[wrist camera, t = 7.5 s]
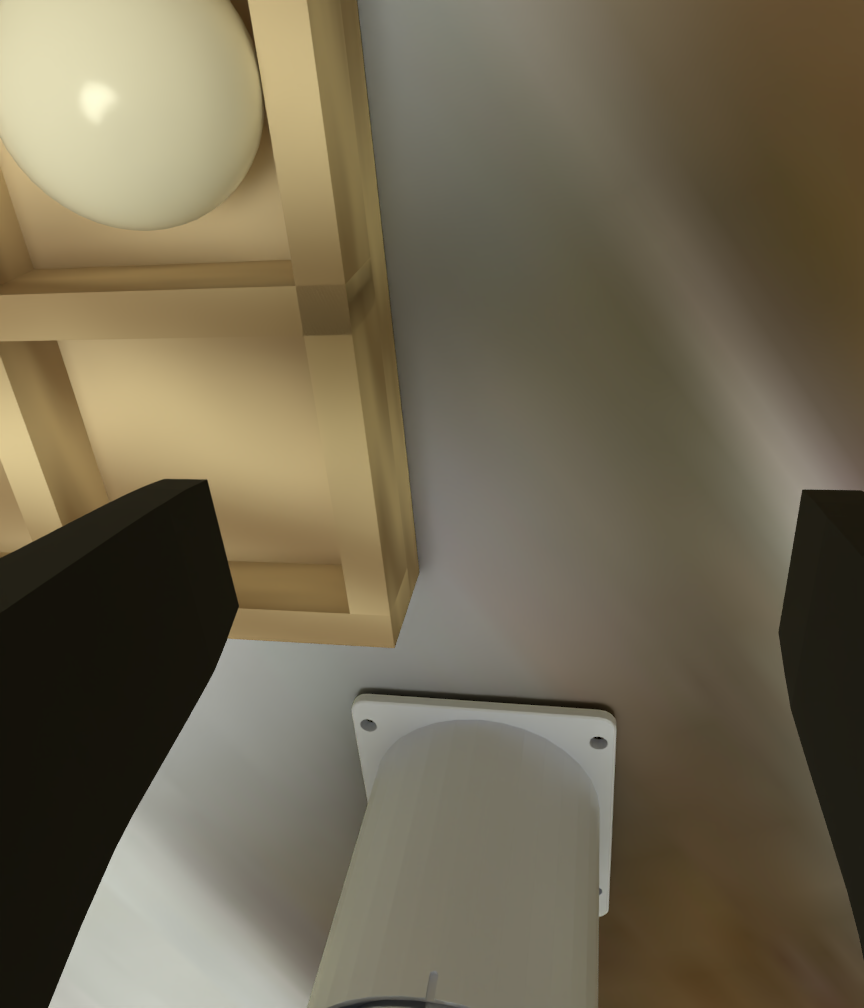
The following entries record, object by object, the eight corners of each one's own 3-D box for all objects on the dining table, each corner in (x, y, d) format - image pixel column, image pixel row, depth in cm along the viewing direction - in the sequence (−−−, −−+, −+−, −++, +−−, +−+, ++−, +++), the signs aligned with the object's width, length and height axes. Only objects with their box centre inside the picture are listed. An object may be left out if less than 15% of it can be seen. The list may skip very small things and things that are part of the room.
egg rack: (419, 571, 23) (394, 647, 20) (-104, 551, 26) (-184, 614, 24) (332, -226, 14) (268, -277, 12) (-429, -107, 18) (-614, -126, 15)
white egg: (264, 191, 18) (311, 226, 14) (42, 228, 17) (28, 278, 13) (214, -64, 16) (254, -103, 12) (-48, -41, 15) (-95, -75, 11)
